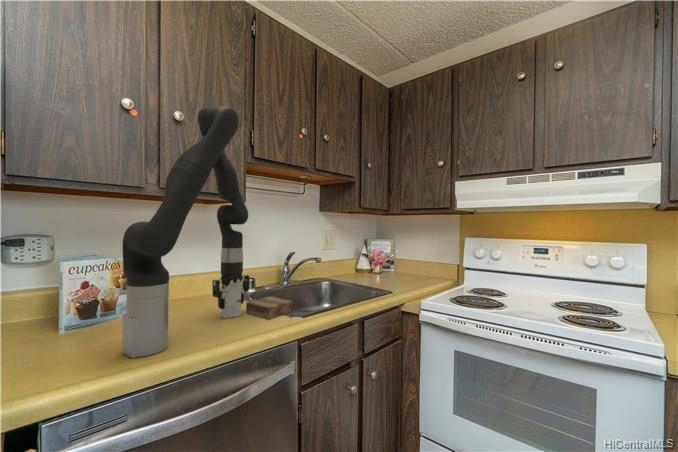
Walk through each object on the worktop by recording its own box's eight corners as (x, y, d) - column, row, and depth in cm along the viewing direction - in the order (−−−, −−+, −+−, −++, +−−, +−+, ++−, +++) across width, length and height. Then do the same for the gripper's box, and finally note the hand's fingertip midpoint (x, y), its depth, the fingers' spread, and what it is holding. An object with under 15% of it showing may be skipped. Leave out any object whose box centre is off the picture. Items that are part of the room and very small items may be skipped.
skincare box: (223, 318, 100) (223, 284, 100) (220, 315, 104) (221, 281, 104) (241, 316, 104) (242, 282, 104) (238, 312, 107) (238, 280, 107)
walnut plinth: (268, 319, 100) (268, 308, 100) (246, 313, 107) (246, 302, 107) (292, 311, 110) (292, 301, 110) (270, 306, 117) (270, 296, 117)
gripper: (220, 263, 96) (219, 313, 96) (255, 259, 108) (254, 303, 108) (207, 261, 100) (206, 309, 100) (242, 257, 112) (241, 300, 112)
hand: (231, 306), depth 104 cm, fingers closed on skincare box, 7 cm apart
